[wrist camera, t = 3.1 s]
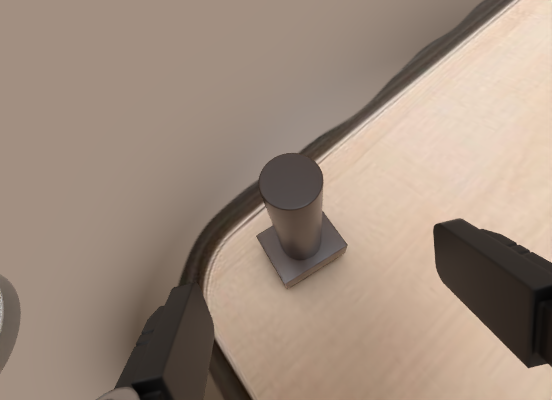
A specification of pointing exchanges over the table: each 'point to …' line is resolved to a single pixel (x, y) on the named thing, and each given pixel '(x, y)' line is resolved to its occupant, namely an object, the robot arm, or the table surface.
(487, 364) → the table surface
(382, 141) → the table surface
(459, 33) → the table surface
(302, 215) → the brown peg on base
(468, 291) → the robot arm
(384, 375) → the table surface
